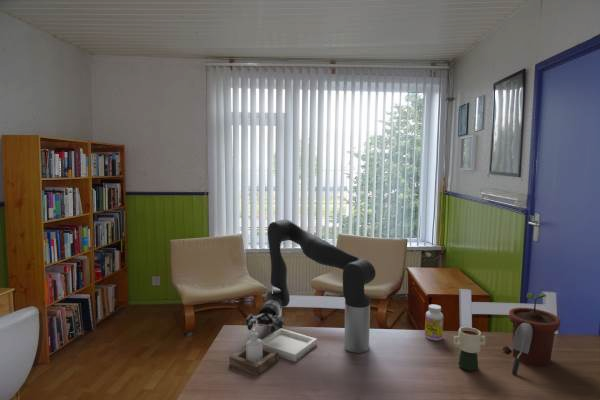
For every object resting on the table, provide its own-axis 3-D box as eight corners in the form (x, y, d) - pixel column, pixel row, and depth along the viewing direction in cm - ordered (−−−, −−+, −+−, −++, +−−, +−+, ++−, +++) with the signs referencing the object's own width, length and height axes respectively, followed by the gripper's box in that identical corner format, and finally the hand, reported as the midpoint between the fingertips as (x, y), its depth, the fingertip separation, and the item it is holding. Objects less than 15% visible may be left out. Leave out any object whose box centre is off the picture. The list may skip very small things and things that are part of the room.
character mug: (479, 362, 140) (480, 326, 139) (488, 372, 133) (490, 335, 132) (448, 362, 140) (449, 326, 139) (456, 373, 133) (458, 335, 132)
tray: (280, 334, 162) (280, 328, 161) (316, 344, 152) (316, 338, 152) (257, 348, 149) (257, 342, 149) (295, 361, 140) (295, 354, 140)
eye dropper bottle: (261, 366, 137) (261, 332, 135) (245, 365, 137) (244, 331, 136) (263, 359, 141) (263, 327, 140) (248, 359, 142) (247, 326, 140)
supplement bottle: (421, 337, 160) (422, 306, 158) (430, 332, 164) (431, 302, 163) (437, 342, 155) (438, 310, 154) (445, 337, 159) (446, 306, 158)
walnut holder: (251, 351, 147) (251, 343, 147) (278, 360, 141) (278, 352, 140) (229, 365, 137) (229, 356, 137) (256, 375, 131) (256, 366, 130)
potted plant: (572, 371, 135) (578, 299, 132) (513, 375, 132) (518, 302, 129) (534, 346, 152) (539, 282, 150) (482, 350, 149) (485, 285, 147)
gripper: (253, 302, 164) (242, 317, 148) (287, 304, 162) (279, 320, 146) (253, 319, 165) (242, 337, 149) (287, 321, 163) (279, 339, 147)
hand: (260, 328), depth 148 cm, fingers open, 8 cm apart
